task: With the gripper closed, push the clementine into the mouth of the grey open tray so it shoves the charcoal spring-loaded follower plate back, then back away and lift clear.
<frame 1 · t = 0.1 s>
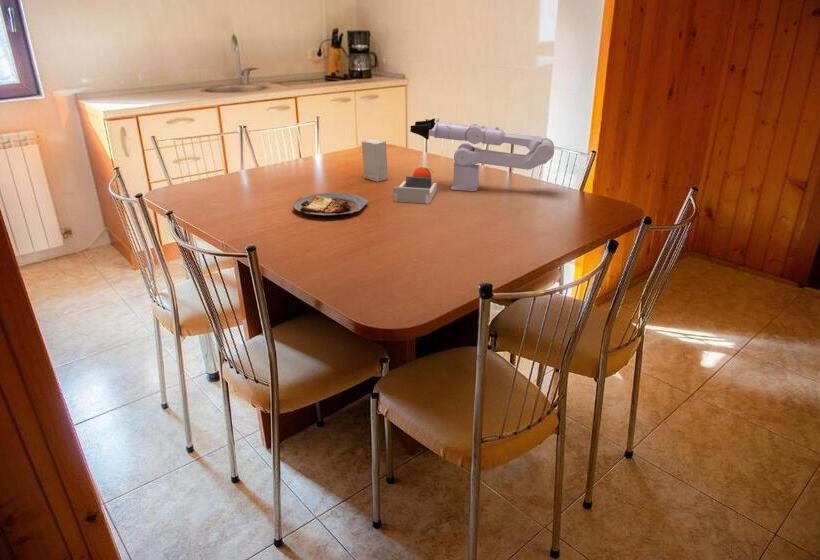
hand: (412, 126, 213), 22 cm above the table, tool horizontal, fingers open, 7 cm apart
skincare box: (375, 179, 230), on the table
clementine: (423, 186, 222), on the table
grey open tray: (415, 196, 209), on the table
follower: (418, 184, 212), point 3 cm above the table, slide at 0.0 cm
food plate: (330, 209, 196), on the table
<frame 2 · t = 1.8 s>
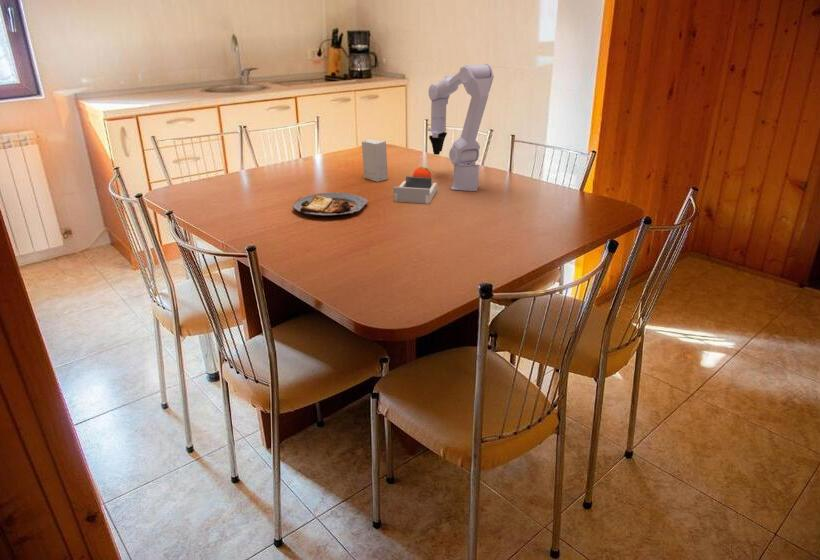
hand: (437, 152, 229), 9 cm above the table, tool pointing down, fingers open, 5 cm apart
nothing on the table moved.
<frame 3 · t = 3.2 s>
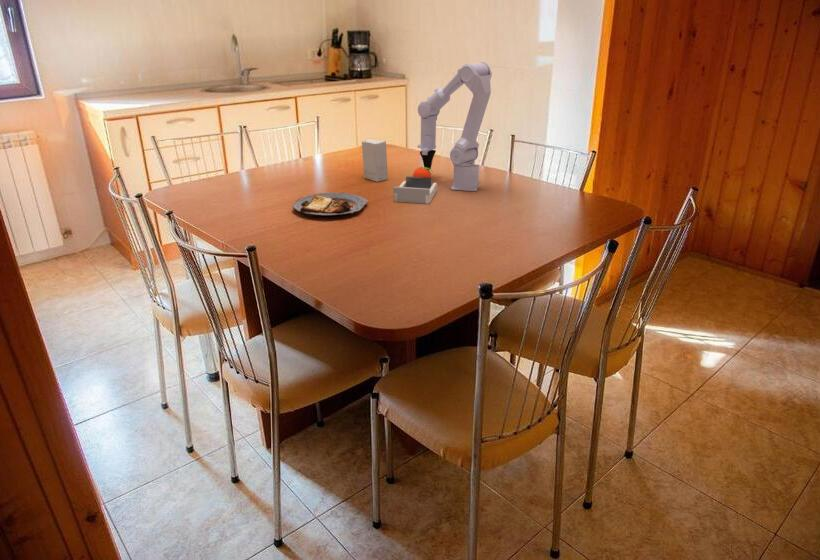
hand: (427, 169, 228), 4 cm above the table, tool pointing down, fingers closed
nothing on the table moved.
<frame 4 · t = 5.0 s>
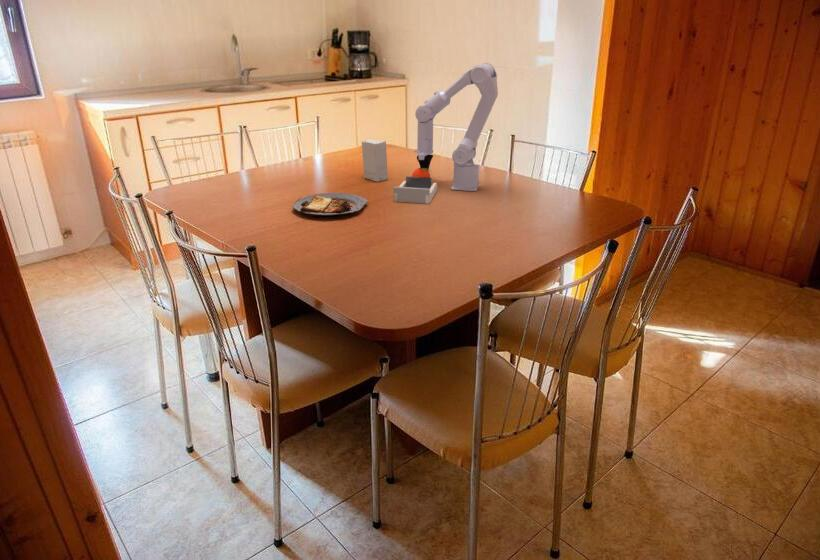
hand: (424, 174, 223), 3 cm above the table, tool pointing down, fingers closed
clementine: (422, 186, 220), on the table, touching gripper
everything else where it was.
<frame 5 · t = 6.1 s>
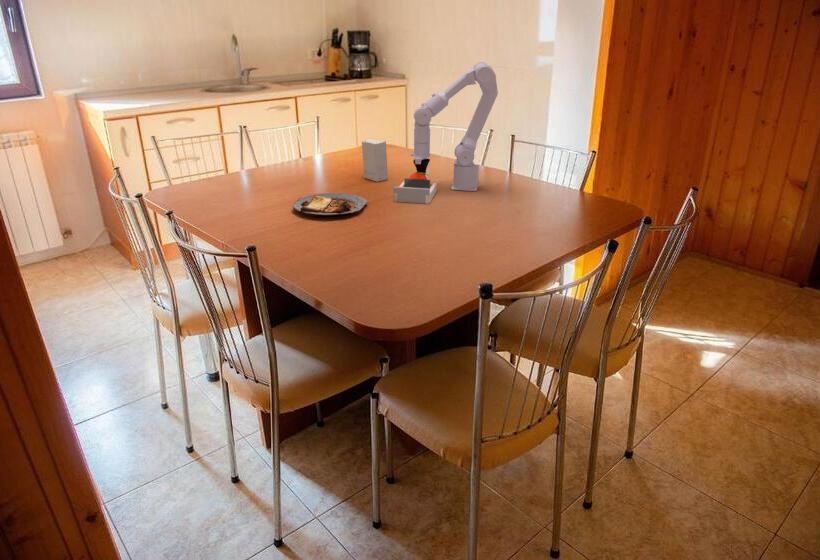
hand: (421, 178, 217), 3 cm above the table, tool pointing down, fingers closed
clementine: (419, 191, 215), on the table, touching follower, gripper
follower: (417, 186, 210), point 3 cm above the table, slide at 2.7 cm, touching clementine
everything else where it was.
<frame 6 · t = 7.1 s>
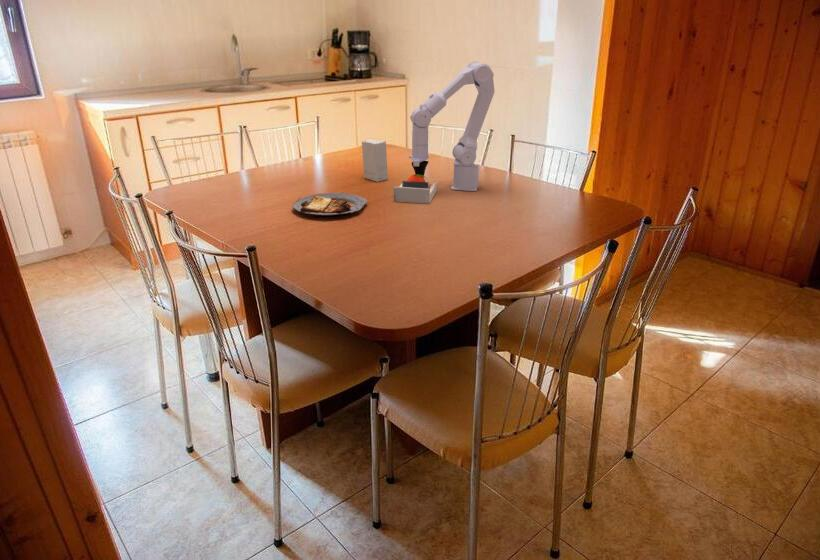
hand: (419, 181, 214), 3 cm above the table, tool pointing down, fingers closed
clementine: (417, 194, 212), on the table, touching follower, gripper
follower: (415, 189, 207), point 3 cm above the table, slide at 5.9 cm, touching clementine
everything else where it was.
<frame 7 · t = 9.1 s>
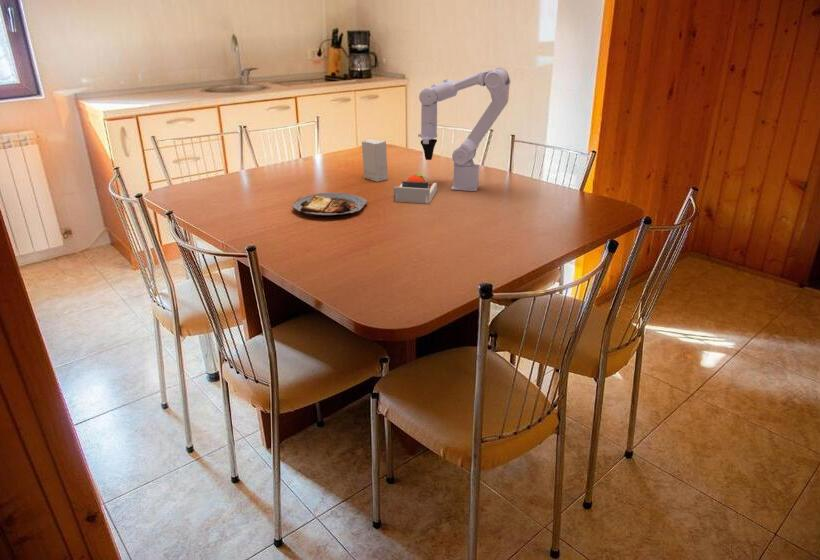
hand: (428, 159, 219), 9 cm above the table, tool pointing down, fingers closed
clementine: (417, 194, 212), on the table
follower: (415, 189, 207), point 3 cm above the table, slide at 6.2 cm
everything else where it was.
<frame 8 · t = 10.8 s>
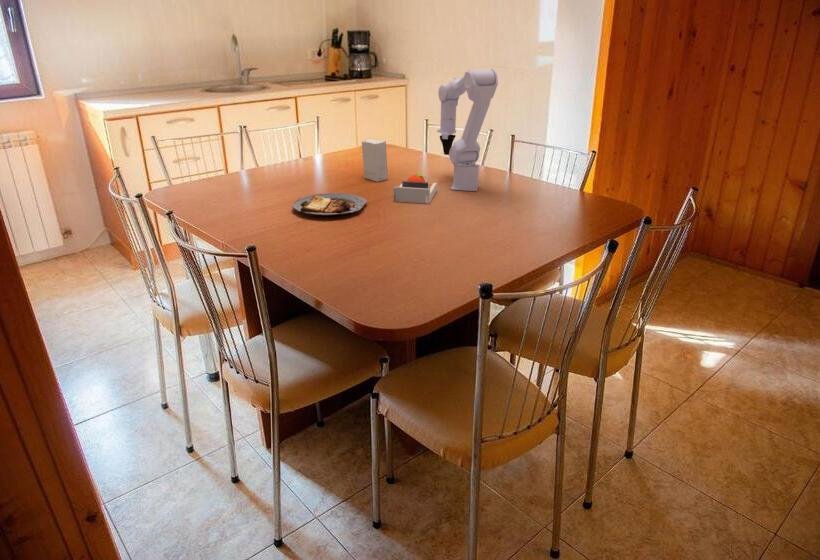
hand: (447, 154, 227), 9 cm above the table, tool pointing down, fingers closed
nothing on the table moved.
at the end: clementine inside the target area (1.9 cm from its centre), on the table; follower slide at 6.2 cm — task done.
